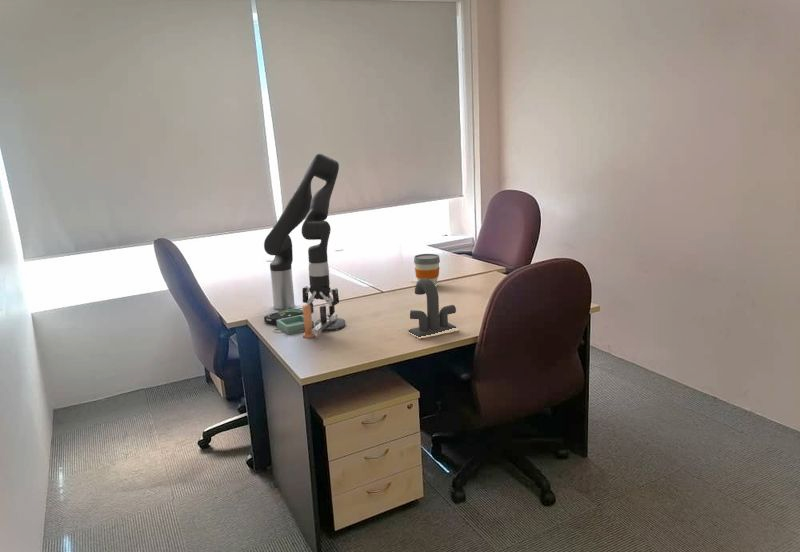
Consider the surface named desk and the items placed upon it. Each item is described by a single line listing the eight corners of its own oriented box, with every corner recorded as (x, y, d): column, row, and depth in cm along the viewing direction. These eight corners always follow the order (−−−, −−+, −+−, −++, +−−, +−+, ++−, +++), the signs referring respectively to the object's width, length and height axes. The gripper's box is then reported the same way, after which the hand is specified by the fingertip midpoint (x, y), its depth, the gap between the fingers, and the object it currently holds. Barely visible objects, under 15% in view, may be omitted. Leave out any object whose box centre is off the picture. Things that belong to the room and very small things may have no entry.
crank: (329, 317, 236) (327, 298, 234) (340, 318, 235) (339, 298, 233) (308, 333, 217) (306, 313, 215) (320, 334, 216) (319, 313, 214)
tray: (277, 327, 232) (276, 320, 231) (302, 321, 238) (301, 314, 237) (287, 334, 223) (287, 327, 222) (313, 328, 229) (313, 321, 228)
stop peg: (301, 335, 221) (298, 305, 218) (311, 333, 223) (309, 303, 220) (306, 338, 217) (303, 308, 214) (316, 336, 220) (314, 306, 217)
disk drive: (282, 326, 232) (307, 316, 244) (281, 320, 231) (306, 310, 243) (264, 323, 238) (289, 313, 250) (263, 316, 237) (289, 307, 249)
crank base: (310, 325, 233) (310, 321, 232) (337, 319, 239) (336, 315, 239) (323, 333, 223) (323, 329, 223) (350, 326, 229) (350, 323, 229)
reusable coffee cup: (445, 286, 284) (445, 256, 280) (426, 291, 276) (426, 260, 272) (428, 281, 293) (427, 252, 290) (409, 286, 285) (408, 256, 282)
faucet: (438, 319, 234) (437, 271, 229) (459, 330, 220) (459, 279, 215) (398, 328, 226) (396, 278, 221) (418, 339, 212) (416, 287, 207)
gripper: (297, 274, 218) (300, 315, 222) (331, 276, 214) (334, 318, 218) (306, 270, 225) (309, 309, 229) (340, 271, 221) (342, 312, 225)
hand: (321, 314), depth 224 cm, fingers open, 8 cm apart
